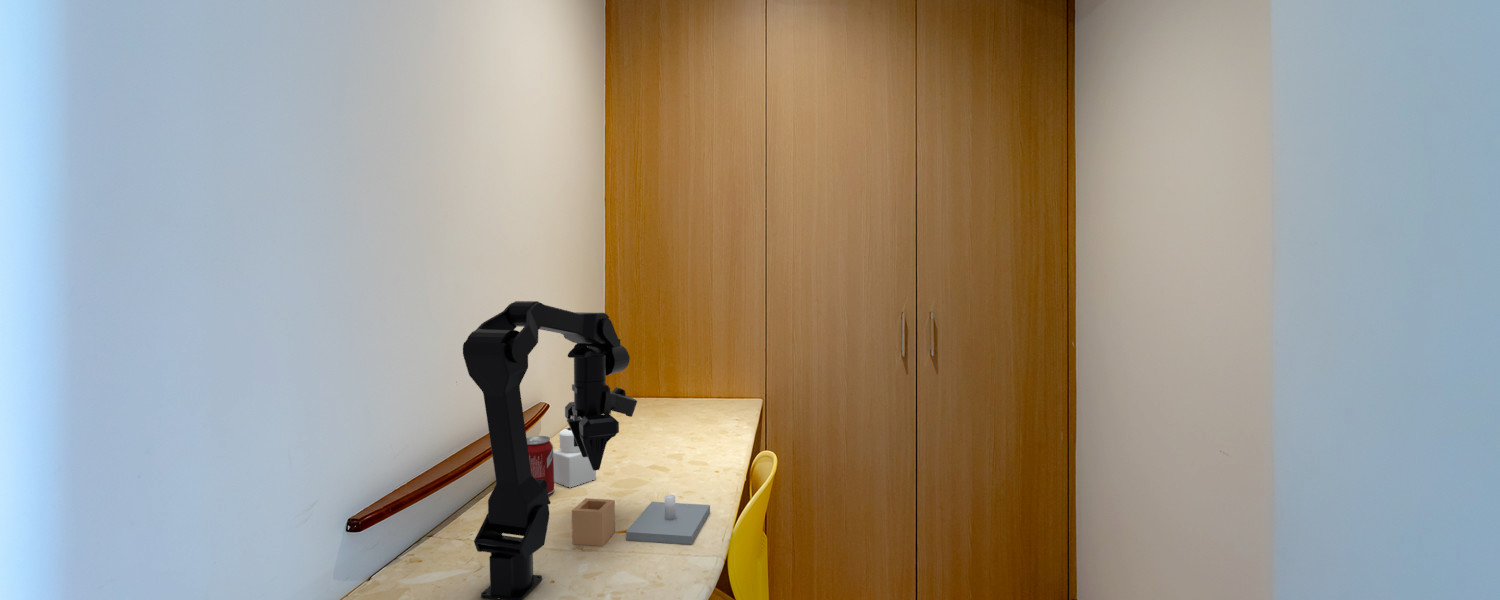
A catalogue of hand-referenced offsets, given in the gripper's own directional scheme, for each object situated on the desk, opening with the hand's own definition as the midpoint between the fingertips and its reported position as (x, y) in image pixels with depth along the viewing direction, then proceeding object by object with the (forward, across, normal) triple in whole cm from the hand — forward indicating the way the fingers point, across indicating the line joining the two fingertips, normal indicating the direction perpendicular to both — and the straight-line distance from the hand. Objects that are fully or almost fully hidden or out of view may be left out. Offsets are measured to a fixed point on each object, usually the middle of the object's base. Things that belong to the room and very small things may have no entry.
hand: (590, 463), depth 110 cm
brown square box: (+12, -5, 0) cm, 13 cm away
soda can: (+12, +22, +7) cm, 26 cm away
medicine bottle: (+12, +27, -2) cm, 30 cm away
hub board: (+12, -6, -13) cm, 19 cm away
